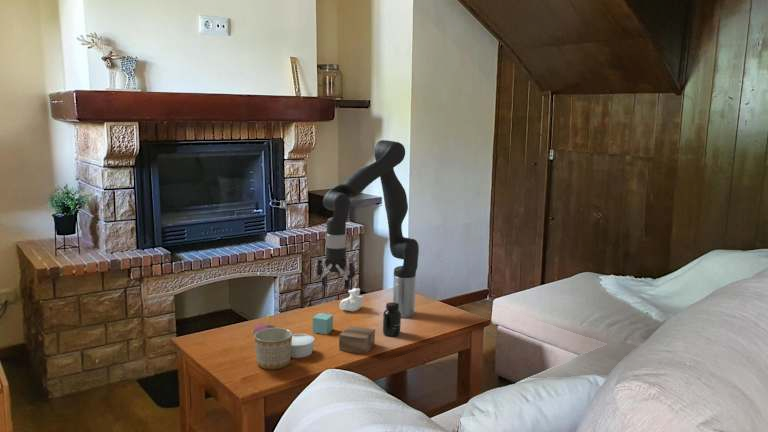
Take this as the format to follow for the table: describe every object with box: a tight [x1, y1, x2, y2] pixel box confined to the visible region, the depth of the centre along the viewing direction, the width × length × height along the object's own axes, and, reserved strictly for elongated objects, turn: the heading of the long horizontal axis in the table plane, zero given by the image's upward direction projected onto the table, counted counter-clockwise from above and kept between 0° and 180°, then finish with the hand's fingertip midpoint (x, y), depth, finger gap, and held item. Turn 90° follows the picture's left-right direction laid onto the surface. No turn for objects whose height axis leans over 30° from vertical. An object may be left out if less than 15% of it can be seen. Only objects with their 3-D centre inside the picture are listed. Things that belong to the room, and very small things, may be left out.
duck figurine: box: [339, 287, 365, 312], centre depth 260 cm, size 12×8×11 cm
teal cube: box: [312, 312, 334, 335], centre depth 236 cm, size 6×6×6 cm
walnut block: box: [338, 325, 376, 355], centre depth 221 cm, size 10×10×6 cm
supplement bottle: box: [382, 301, 402, 337], centre depth 234 cm, size 7×7×12 cm
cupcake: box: [252, 312, 276, 336], centre depth 222 cm, size 9×8×12 cm
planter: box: [253, 327, 293, 370], centre depth 205 cm, size 13×13×10 cm
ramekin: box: [290, 333, 316, 359], centre depth 214 cm, size 11×11×5 cm
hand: (335, 287), depth 227 cm, fingers open, 8 cm apart
